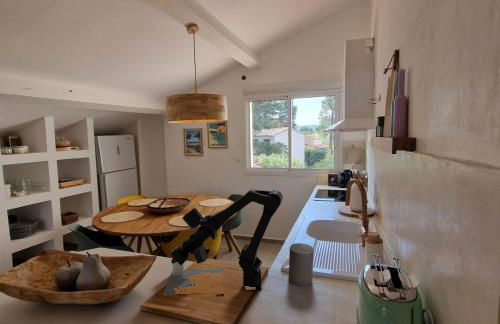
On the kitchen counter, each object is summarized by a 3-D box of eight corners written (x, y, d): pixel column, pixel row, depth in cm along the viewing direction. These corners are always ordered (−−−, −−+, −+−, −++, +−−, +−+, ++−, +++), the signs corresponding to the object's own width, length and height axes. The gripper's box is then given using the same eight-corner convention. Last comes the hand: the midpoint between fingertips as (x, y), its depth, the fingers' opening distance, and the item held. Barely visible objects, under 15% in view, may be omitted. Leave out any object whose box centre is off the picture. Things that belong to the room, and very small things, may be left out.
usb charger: (185, 271, 115) (185, 245, 114) (180, 277, 111) (180, 250, 110) (175, 270, 116) (175, 244, 115) (170, 275, 112) (170, 249, 111)
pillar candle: (283, 277, 114) (284, 242, 112) (302, 271, 118) (303, 238, 117) (298, 289, 105) (299, 252, 104) (317, 283, 110) (319, 247, 108)
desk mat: (224, 270, 119) (224, 268, 119) (224, 294, 101) (224, 292, 101) (172, 272, 116) (172, 270, 116) (162, 297, 99) (162, 295, 99)
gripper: (204, 262, 100) (176, 287, 104) (220, 242, 118) (196, 264, 122) (184, 240, 101) (157, 265, 105) (203, 223, 119) (180, 245, 123)
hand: (174, 260), depth 113 cm, fingers closed on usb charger, 4 cm apart
